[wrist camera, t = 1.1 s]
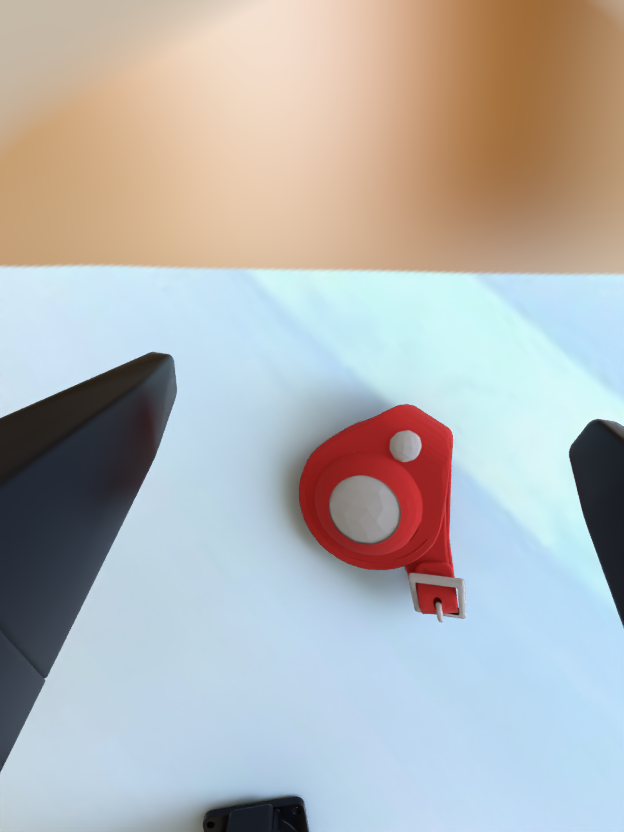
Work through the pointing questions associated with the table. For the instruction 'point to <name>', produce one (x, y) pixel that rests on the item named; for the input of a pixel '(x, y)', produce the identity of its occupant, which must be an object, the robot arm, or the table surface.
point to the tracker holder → (388, 502)
